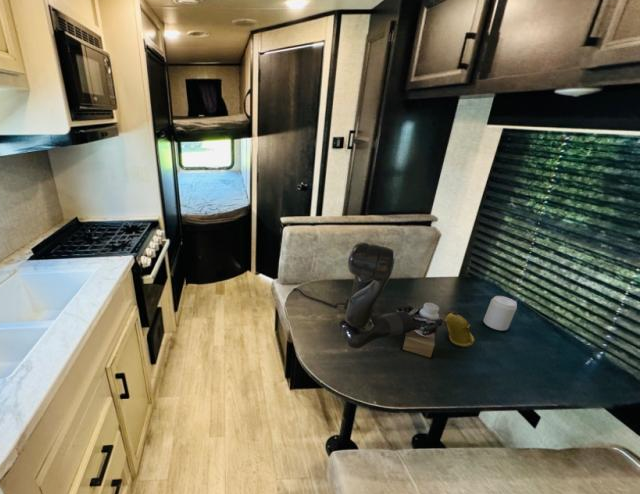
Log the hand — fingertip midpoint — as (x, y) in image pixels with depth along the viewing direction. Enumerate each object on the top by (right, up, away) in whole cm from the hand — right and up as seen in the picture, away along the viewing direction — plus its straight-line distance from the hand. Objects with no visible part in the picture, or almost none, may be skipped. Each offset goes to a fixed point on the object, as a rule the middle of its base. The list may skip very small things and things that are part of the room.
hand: (433, 316), depth 111 cm
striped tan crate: (0, -10, +10) cm, 15 cm away
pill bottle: (-2, -6, +2) cm, 7 cm away
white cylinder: (+36, -7, +17) cm, 40 cm away
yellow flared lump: (+13, -12, +7) cm, 19 cm away
